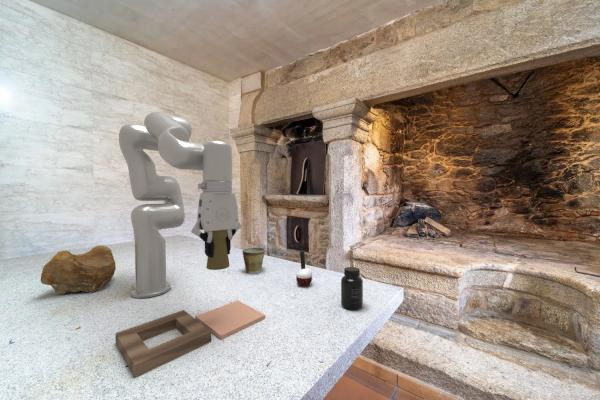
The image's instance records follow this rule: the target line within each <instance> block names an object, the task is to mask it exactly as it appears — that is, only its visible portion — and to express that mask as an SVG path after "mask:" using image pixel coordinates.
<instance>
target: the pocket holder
mask: <svg viewBox="0 0 600 400" xmlns="http://www.w3.org/2000/svg"><path fill="white" fill-rule="evenodd" d="M174 329H176V330H178V331H179V333H181V335H179V336H177V337H175V338H173V339H170V340H167V341H166V342H163V343H160V344H157V345H156V346H153V347H151V348H149V347H148V346H147V345H146V343H145V342H144V341H146V340H148V339H150V338H153V337H156V336H158V335H161V334H163V333H167V332H169V331H172V330H174ZM211 342H212V332H211V331H210V330H209V329H207V328H206V327H205V326H204V325H202V324H201V323H200V322H199V321H197V320H196V319H195V318H194V316H192V315H191V314H190V313H188V312H187V311H186V310H185V309H182V310H179V311H176V312H173V313H170V314H167V315H164V316H162V317H159V318H156V319H153V320H150V321H146V322H145V323H141V324H137V325H135V326H132V327H129V328H126V329H123V330H121V331H118V332H116V333H115V345H116V347H117V349H118V350H119V351H120V354H121V356H122V357H123V359H124V361H125V363H126V364H127V366H128V368H129V370H130V371H131V373H132V375H133V377H134V378H137V377H139V376H141V375H144V374H146V373H147V372H151V371H152V370H155V369H156V368H158V367H160V366H163V365H164V364H167V363H169V362H171V361H173V360H176V359H177V358H180V357H182V356H183V355H186V354H188V353H190V352H192V351H194V350H196V349H199V348H201V347H203V346H205V345H208V344H209V343H211Z"/></svg>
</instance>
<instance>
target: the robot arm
mask: <svg viewBox="0 0 600 400" xmlns="http://www.w3.org/2000/svg"><path fill="white" fill-rule="evenodd" d="M192 134H193V128H192V125H191V123H190V121H188V120H187V119H186V118H185V117H180V116H177V115H173V114H169V113H166V112H160V111H153V112H150V113H148V114H147V115H146V116H145V118H144V120H143V124H137V123H127V124H124V125H123V126H121V128H120V130H119V133H118V143H119V148H120V151H121V153H122V156H123V158H124V160H125V162H126V164H127V169H128V176H129V182H130V188H131V192H132V196H133V198H134V199H135V200H136V201H140V202H164V203H146V204H141V205H140V204H139V205H137V206H136V207H134V208H133V209H132V210H131V213H130V220H131V226H132V230H133V238H134V265H135V268H134V269H135V287H133V288H132V289H131V290H130V292H129V293H130V297H132V298H136V299H145V298H153V297H157V296H158V297H159V296H160V295H163V294H165V293H167V292H168V291H170V290H171V289H172V283H170V282H167V259H166V258H167V251H166V250H167V249H166V248H167V246H166V244H167V243H166V240H165V237H163V235H162V234H161V233H160V232H159V231H160V230H166V229H174V228H179V227H181V226H183V224H184V222H185V218H186V214H185V213H186V212H185V206H184V200H183V196H182V190H181V185H180V183H179V182H178V180H177V179H176V178H174V177H172V176H168V175H165V176H164V175H158V174H157V168H156V165H155V162H154V160H153V159H152V158H151V157H150V155H148V153H146V151H144V150H147V151H154V152H158V154H159V155H160V157H161V158H162V160H164V162H166V163H167V164H168V165H169V166H171V167H173V168H175V169H179V170H190V171H199V172H200V171H202V182H201V183H198V184H197V189H199V190H200V189H201V191H202V193H200V195H199V199H198V205H197V215H196V216H197V218H196V219H197V220H196V222H195V224H194V226H193V227H192V229H191V231H190V232H191V234H193V235H195V236H197V237H198V238H200V239H201V240H202V241H203V242H204V254H205V256H206V257H207V258H208V257H210V258H212V257H213V254H214V243H213V242H212V233H213V231H222V230H227V231H228V234H227V237H226V244H227V252H228V255H230V253H231V248H232V247H231V246H232V245H231V244H232V243H231V241H232V240H233V237H234V236H235V234H236V233H237V232H238V231H239V230H240V229H241V228H242V225H241V224H240V222H239V210H238V201H237V197H236V194H235V193H234V192H233V160H232V159H233V148H232V146H231V144H230V143H228V142H225V141H221V140H208V141H205V142H204V143H203V144H202V143H197V142H192V141H190V139H191V136H192ZM202 231H203V232H202Z"/></svg>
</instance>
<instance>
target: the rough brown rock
mask: <svg viewBox="0 0 600 400" xmlns="http://www.w3.org/2000/svg"><path fill="white" fill-rule="evenodd" d="M116 269H117V268H116V260H115V258H114V255H113V252H112V249H111V248H110V247H108V246H107V245H95V246H93V247H92V248H91V249H90V250H89V251H87V252H86V253H80V254H73V253H71V252H70V251H68V250H65V249H64V250H60V251H57V253H56V254H55V255H54V256H53V257H51V259H50V260H49V261H48V262H47V263H45V265H44V266H43V268H42V272H41V274H40V283H41V284H43V285H46V286H51V287H52V289H53V291H55V293H56V294H58V295H65V293H66V294H67V293H70V292H71V293H78V292H85V293H91V292H92V293H96V291H97V290H99V289H101V287H102V286H104V285H105V283H106V282H109V281H110V280H112V279H113V277H114V275H115V272H116ZM92 293H91V294H92Z"/></svg>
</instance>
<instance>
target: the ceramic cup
mask: <svg viewBox="0 0 600 400" xmlns="http://www.w3.org/2000/svg"><path fill="white" fill-rule="evenodd" d="M265 253H266V249H265V248H263V247H257V246H256V247H255V246H251V247H246V248H243V249H242V257H243V260H244V261H243V262H244V269H245V272H246V273H247V274H249V275H256V274H259V273H261V272H262V269H263V268H262V267H263V262H264V257H265Z"/></svg>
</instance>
